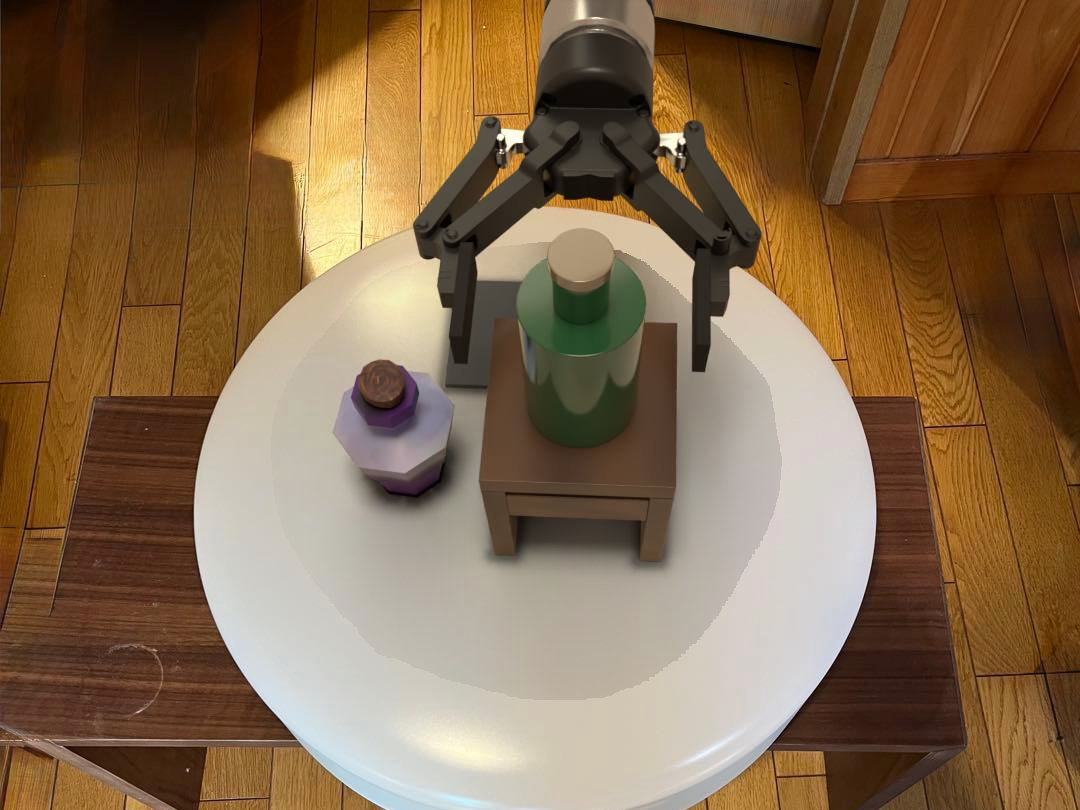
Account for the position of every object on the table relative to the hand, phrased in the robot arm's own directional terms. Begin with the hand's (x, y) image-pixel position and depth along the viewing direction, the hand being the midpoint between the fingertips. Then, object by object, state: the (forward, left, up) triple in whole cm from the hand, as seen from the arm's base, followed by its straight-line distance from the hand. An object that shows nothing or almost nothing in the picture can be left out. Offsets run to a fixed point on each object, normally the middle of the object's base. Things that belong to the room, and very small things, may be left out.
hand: (578, 355), depth 54 cm
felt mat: (+6, -14, -19) cm, 25 cm away
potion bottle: (+13, -2, -19) cm, 23 cm away
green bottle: (0, -1, -7) cm, 7 cm away
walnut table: (0, -1, -19) cm, 19 cm away
